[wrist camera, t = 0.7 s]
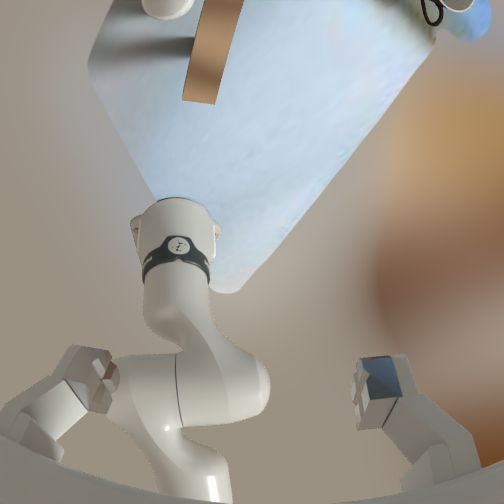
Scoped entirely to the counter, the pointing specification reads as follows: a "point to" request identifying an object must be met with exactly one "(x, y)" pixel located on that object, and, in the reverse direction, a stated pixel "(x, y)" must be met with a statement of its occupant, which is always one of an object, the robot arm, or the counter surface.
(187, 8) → the pill bottle
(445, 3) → the coffee mug
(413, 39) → the counter surface
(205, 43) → the walnut archway
